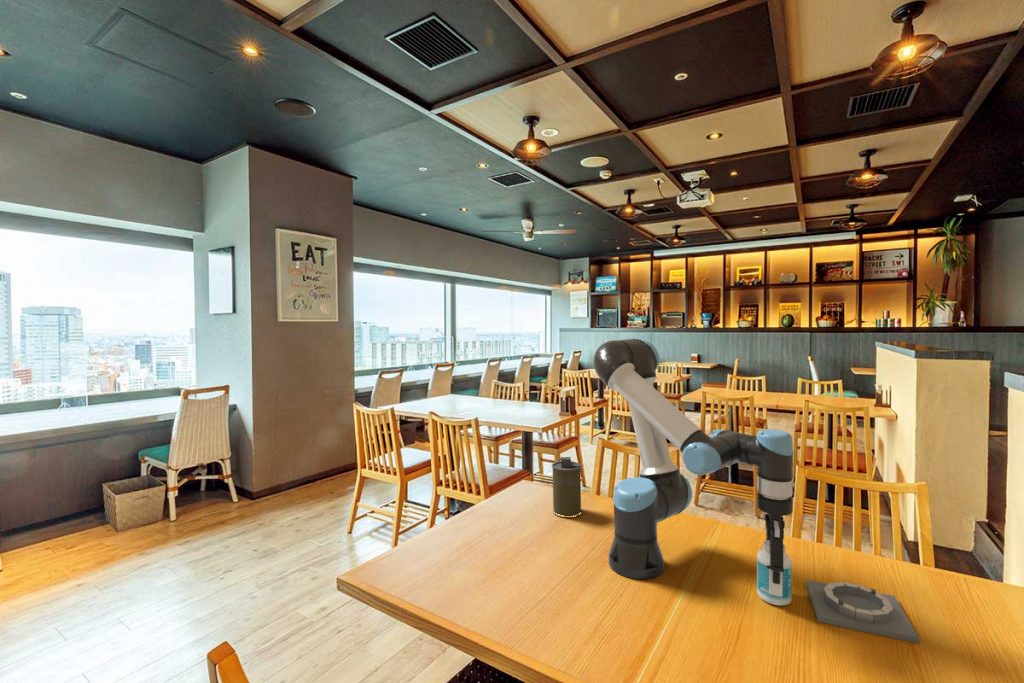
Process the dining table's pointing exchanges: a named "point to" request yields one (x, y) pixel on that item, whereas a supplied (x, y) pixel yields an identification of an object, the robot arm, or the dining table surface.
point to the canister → (566, 487)
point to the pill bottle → (763, 577)
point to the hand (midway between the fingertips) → (774, 585)
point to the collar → (856, 613)
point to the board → (894, 628)
